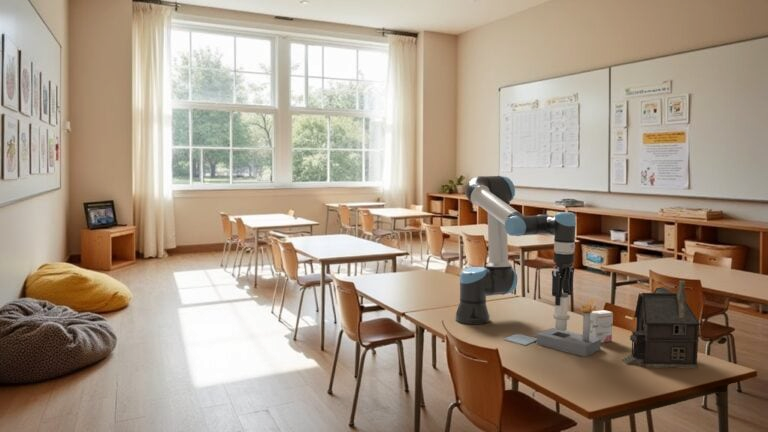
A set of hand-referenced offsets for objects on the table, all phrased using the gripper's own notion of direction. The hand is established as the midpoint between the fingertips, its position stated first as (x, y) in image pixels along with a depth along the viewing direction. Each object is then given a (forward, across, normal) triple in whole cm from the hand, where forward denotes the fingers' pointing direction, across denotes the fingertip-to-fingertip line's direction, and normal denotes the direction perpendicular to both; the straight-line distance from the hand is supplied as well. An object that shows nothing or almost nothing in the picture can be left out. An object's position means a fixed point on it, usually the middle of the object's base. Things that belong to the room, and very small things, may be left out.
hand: (561, 312), depth 216 cm
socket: (+13, 0, -3) cm, 13 cm away
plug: (+7, 0, 0) cm, 7 cm away
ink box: (+13, +16, -8) cm, 22 cm away
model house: (+13, +9, -31) cm, 35 cm away
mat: (+13, -6, +14) cm, 20 cm away
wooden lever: (0, +6, -9) cm, 10 cm away
